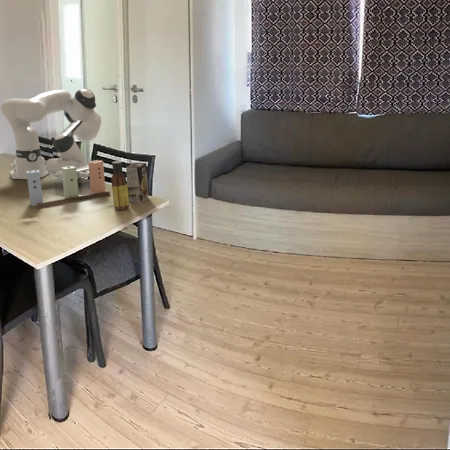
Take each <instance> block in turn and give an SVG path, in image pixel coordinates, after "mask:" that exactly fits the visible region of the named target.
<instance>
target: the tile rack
mask: <svg viewBox="0 0 450 450" xmlns="http://www.w3.org/2000/svg"><path fill="white" fill-rule="evenodd" d="M109 196H111V192H110V190H105V192H99V193H88V194H83V195H79V196H76V197H71V198H60V199H54V200H49V201H43V202H42V203H37V205H36V206H37V209H41V208H42V209H43V208H48V207H53V206H58V205H63V204H69V203H74V202H75V203H76V202H81V201H86V200H91V199H97V198H103V197H109Z"/></svg>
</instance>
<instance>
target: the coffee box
mask: <svg viewBox="0 0 450 450" xmlns="http://www.w3.org/2000/svg"><path fill="white" fill-rule="evenodd" d="M147 166H148V165H147V162H132V163H130V164H129V165H127V166H125V168H126V181H127V188H128V197H129V204H135V205H137V204H138V205H142V204H144V202H145V201H146V200H148V199H149V188H148V187H149V186H148V184H149V183H148V169H147Z"/></svg>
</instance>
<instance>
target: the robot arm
mask: <svg viewBox="0 0 450 450" xmlns="http://www.w3.org/2000/svg"><path fill="white" fill-rule="evenodd" d="M96 107H97V103H96V97H95V94H94V93H93V91H92V90H90V89H88V88H85V87H81V88H79V89H78V90H77V91H76V92H75V93H74V96H72V94H71V93H70V92H69V91H68V90H66V89H54V90H50V91H45V92H42V93H38V94H36V95H35V97H31V98H19V97H17V98H16V97H12V98H7V99H5V100H4V101H3V102H2V103H1V105H0V111H1V114H2V115H3V116H4V118H6V120H7V121H8V124H9V125H10V127H11V129H12V133H13V136H14V140H15V147H16V148H15V159H14V160H13V163H12V164H10V166H11V169H12V170H11V171H9V173H10V176H11V178H12V179H13V180H27V172H26V171H33V170H39V172H40V179H41V178H44V177H45V176H47V175H51V176H53V177H56V178H57V180H60V181H62V182H63V179H62V169H61V167H68V166H74V167H76V172H77V179H81V178H90V175H89V164H88V162H87V161H85V156H84V154H83V152H82V151H81V149H80V147H79V146H78V144H77V142H76V140H75V138H74V136H75V137H76V139H78V140H80V141H82V142H91V141H94V139H95V138H96V137H97V136H98V134H99V131H100V128H101V125H102V118H101V117H102V116H101V115H100V114H99V113H98V112H96V111H95V108H96ZM62 111H63V115H64V117H65V119H66V120H67V121H68V122H69V125H67V127H66V128H65V129H63V131H61V132H60V133H59V134H57V135H56V136H55V137H54V139H53V141H52V146H53V148H54V149H55V150H56V152H57V153H58V154H59V156H60V157H58V158H57V157H56V158H55V157H54V158H53V157H51V158H49V159H47V160H45V158H44V157H43V156H42V149H41V148H40V141H39V133H38V131H37V130H36V129H35V128H34V127H33V125H32V123H38V122H42V121H43V120H44V119H45V118H46V116H49V115H51V114H56V113H59V112H62Z"/></svg>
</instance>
